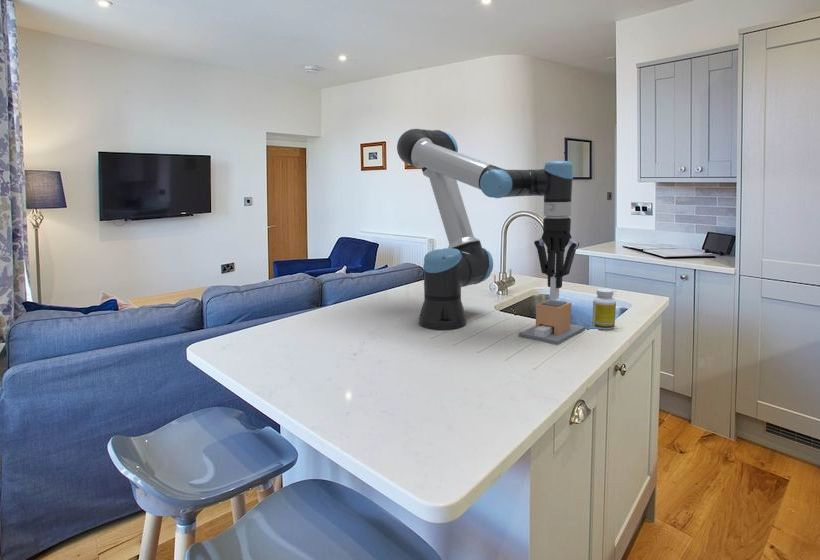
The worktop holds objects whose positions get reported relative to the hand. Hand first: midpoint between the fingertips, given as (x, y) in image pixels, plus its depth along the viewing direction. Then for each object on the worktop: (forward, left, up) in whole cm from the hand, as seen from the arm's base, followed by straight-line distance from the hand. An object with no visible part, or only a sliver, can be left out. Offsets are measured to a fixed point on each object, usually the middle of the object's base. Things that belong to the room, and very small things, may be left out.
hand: (554, 298), depth 146 cm
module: (0, 0, -10) cm, 10 cm away
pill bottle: (+9, +15, -11) cm, 20 cm away
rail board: (0, 0, -11) cm, 11 cm away
